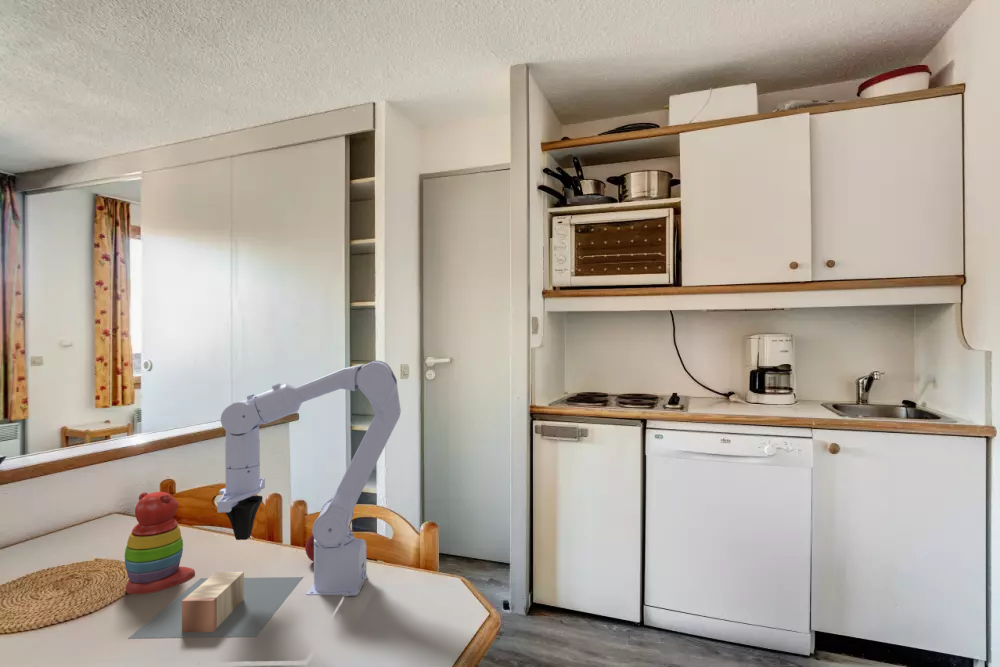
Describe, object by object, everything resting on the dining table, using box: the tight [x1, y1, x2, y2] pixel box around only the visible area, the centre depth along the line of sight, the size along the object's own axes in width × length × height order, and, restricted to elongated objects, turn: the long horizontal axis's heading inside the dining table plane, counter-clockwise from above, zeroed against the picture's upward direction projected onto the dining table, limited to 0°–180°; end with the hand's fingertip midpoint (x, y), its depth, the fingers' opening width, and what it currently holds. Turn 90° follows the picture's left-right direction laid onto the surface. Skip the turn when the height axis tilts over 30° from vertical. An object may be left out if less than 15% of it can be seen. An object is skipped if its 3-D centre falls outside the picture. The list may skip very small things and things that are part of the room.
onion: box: [304, 532, 314, 563], centre depth 107 cm, size 6×6×8 cm
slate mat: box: [127, 576, 304, 640], centre depth 90 cm, size 20×20×1 cm
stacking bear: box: [124, 491, 196, 595], centre depth 99 cm, size 11×10×18 cm
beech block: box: [182, 571, 245, 632], centre depth 86 cm, size 5×5×10 cm
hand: (243, 538), depth 94 cm, fingers closed
